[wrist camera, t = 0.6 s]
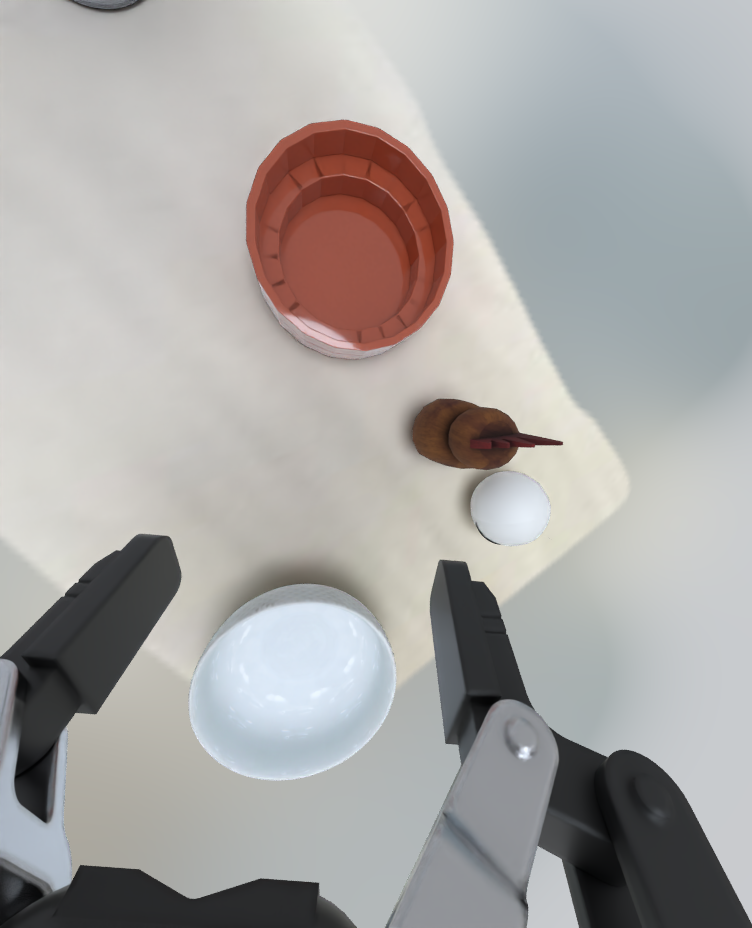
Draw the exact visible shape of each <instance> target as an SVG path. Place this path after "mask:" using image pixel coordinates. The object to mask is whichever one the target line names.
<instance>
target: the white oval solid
mask: <svg viewBox="0 0 752 928" xmlns="http://www.w3.org/2000/svg"><path fill="white" fill-rule="evenodd" d="M550 509H551V506H550V502H549V498H548V496H547V494H546V493H545V491H544V490H543V488H542V487H541V485H540V484H539V483H538V482H536V481H535V480H534V479H532V478H531V477H529V476H527V475H525V474H523V473H519V472H515V471H504V472H497V473H495V474H493V475H490V476H488V477H487V478H485V479H484V480H483V481H482V482H481V483H480V484H478V486H477V487H476V489H475V491H474V492H473V495H472V499H471V515H472V518H473V521H474V524H475V525H476V526H477V528H478V530H479V532H480V533H481V535H482V536H483V537H484V538H486V539H487V540H488V541H490V542H492V543H495V544H499V545H506V546H517V545H523V544H527V543H529V542H531V541H533V540H535V539H536V538H537V537H538V536H540V535H541V534H542V533H543V531H544V529H545V528H546V526H547V524H548V521H549V518H550ZM549 539H550V538H549Z"/></svg>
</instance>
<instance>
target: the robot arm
mask: <svg viewBox="0 0 752 928" xmlns="http://www.w3.org/2000/svg"><path fill="white" fill-rule="evenodd" d="M73 1H75V2H78V3H80V4H83V5H86V6H89V7H94V8H100V9H117V8H122V7H126V6H129V5H131V4H133V3H135V2H137V1H138V0H73ZM180 582H181V569H180V566H179V563H178V559H177V556H176V553H175V550H174V546H173V543H172V540H171V538H170V537H168V536H162V535H150V534H138V535H136V536H135V537H134V538H133V539H132V540H131V541H130V542H129V543H128V544H127V545H126V546H125V547H124V548H123V549H122V550H121V551H117V550H116V551H114V552H113V553H111V554H110V555H108V556H106V557H105V558H103V559H102V560H100V561H98V562H97V563H95V564H94V565H93V566H92V567H91V568H90V569H89V570H88V571H87V572H86V573H85V574H84V575H83V576H82V577H81V578H80V579H79V582H78V583H75V584H74V585H73V586H72V587H71V588H70V589H69V590H68V591H67V592H66V593H65V596H64V597H61V598H60V599H59V600H58V601H57V602H56V603H55V604H54V605H53V606H52V607H51V608H50V609H49V610H48V611H47V612H46V613H45V614H44V615H43V616H42V617H41V618H40V619H39V620H38V621H37V622H36V623H35V624H34V625H33V626H32V627H31V628H30V629H29V630H28V631H27V632H26V633H25V634H24V635H23V636H22V637H21V638H20V639H19V640H18V641H17V642H16V643H15V644H14V645H13V646H12V647H11V648H10V649H9V650H8V651H6V652H5V653H4V654H3V655H2V656H1V657H0V928H357V927H356V926H355V925H354V924H353V923H352V921H351V920H350V919H349V918H348V917H347V916H346V914H345V913H344V912H343V911H341V910H340V909H339V908H338V907H337V906H335V905H334V904H333V903H332V902H330V901H328V900H326V899H325V898H323V897H321V896H319V883H312V882H301V881H287V880H274V879H258V880H255V881H251V882H248V883H245V884H242V885H239V886H236V887H233V888H230V889H226V890H223V891H220V892H217V893H214V894H211V895H208V896H204V897H201V898H197V899H189V898H187V897H185V896H183V895H181V894H180V893H178V892H176V891H175V890H173V889H171V888H170V887H168V886H166V885H165V884H163V883H161V882H160V881H158V880H156V879H154V878H152V877H151V876H149V875H148V874H146V873H144V872H143V871H141V870H139V869H125V868H112V867H99V866H84V865H80V867H79V869H78V871H77V872H76V875H75V877H74V878H73V880H72V860H71V852H70V847H69V843H68V840H67V837H66V835H65V831H64V817H63V816H64V800H65V781H66V763H67V745H68V730H67V727H66V726H67V724H68V723H69V721H70V720H71V719H72V717H73V716H74V714H75V713H86V714H97V712H98V711H99V709H100V707H101V706H102V704H103V703H104V701H105V700H106V698H107V697H108V695H109V694H110V692H111V691H112V689H113V688H114V686H115V685H116V683H117V682H118V680H119V679H120V677H121V676H122V674H123V673H124V671H125V670H126V668H127V667H128V665H129V664H130V662H131V661H132V659H133V658H134V656H135V655H136V653H137V651H138V650H139V649H140V647H141V646H142V644H143V643H144V641H145V640H146V638H147V637H148V635H149V633H150V632H151V630H152V629H153V627H154V626H155V624H156V623H157V621H158V620H159V618H160V617H161V615H162V614H163V612H164V611H165V609H166V608H167V606H168V605H169V603H170V602H171V600H172V599H173V597H174V596H175V594H176V593H177V591H178V588H179V586H180ZM430 616H431V625H432V633H433V642H434V650H435V659H436V667H437V675H438V684H439V692H440V701H441V709H442V717H443V726H444V734H445V743H446V744H457V745H459V752H460V759H461V767H460V769H459V771H458V773H457V775H456V777H455V779H454V782H453V784H452V786H451V788H450V790H449V792H448V794H447V797H446V799H445V801H444V803H443V805H442V807H441V810H440V812H439V814H438V816H437V818H436V820H435V822H434V824H433V827H432V829H431V831H430V833H429V836H428V837H427V839H426V842H425V844H424V846H423V848H422V850H421V852H420V854H419V857H418V859H417V861H416V863H415V865H414V867H413V869H412V871H411V873H410V875H409V877H408V879H407V882H406V884H405V886H404V888H403V890H402V892H401V894H400V896H399V899H398V901H397V903H396V905H395V907H394V909H393V911H392V914H391V916H390V918H389V920H388V922H387V924H386V927H385V928H526V926H527V920H528V904H527V900H526V892H527V886H528V881H529V877H530V873H531V869H532V865H533V861H534V857H535V853H536V850H537V846H539V847H541V848H543V849H545V850H546V851H548V852H550V853H552V854H554V855H556V856H558V857H559V858H561V859H562V862H563V866H564V869H565V874H566V877H567V881H568V885H569V889H570V893H571V897H572V901H573V905H574V909H575V913H576V917H577V921H578V925H579V928H752V924H751V922H750V920H749V918H748V916H747V914H746V912H745V910H744V909H743V906H742V904H741V902H740V901H739V899H738V897H737V895H736V893H735V891H734V889H733V887H732V885H731V884H730V881H729V880H728V878H727V876H726V874H725V872H724V870H723V868H722V866H721V864H720V862H719V860H718V858H717V856H716V854H715V853H714V851H713V849H712V847H711V845H710V843H709V841H708V839H707V837H706V835H705V833H704V832H703V829H702V828H701V826H700V824H699V822H698V820H697V818H696V816H695V814H694V812H693V810H692V808H691V806H690V805H689V803H688V801H687V799H686V798H685V796H684V794H683V793H682V791H681V790H680V789H679V787H678V786H677V784H676V783H675V782H674V781H673V780H672V778H670V776H669V775H668V774H667V773H666V772H665V771H664V770H663V769H661V768H660V767H659V766H658V765H657V764H656V763H654V762H653V761H651V760H650V759H648V758H647V757H645V756H643V755H641V754H639V753H636V752H634V751H629V750H619V751H616V752H614V753H612V754H611V755H610V756H609V757H606V756H604V755H601V754H599V753H597V752H594V751H592V750H590V749H588V748H586V747H584V746H581V745H579V744H577V743H575V742H572V741H570V740H568V739H566V738H564V737H562V736H561V735H559V734H557V733H556V732H555V731H554V730H552V729H551V728H550V727H549V726H548V725H547V724H546V722H545V721H544V720H543V718H542V717H541V716H540V715H539V714H538V713H537V712H536V711H535V710H534V708H533V707H532V705H531V703H530V701H529V698H528V696H527V694H526V690H525V687H524V684H523V681H522V678H521V675H520V672H519V669H518V666H517V663H516V659H515V656H514V653H513V650H512V647H511V644H510V641H509V638H508V635H506V629H505V625H504V622H503V620H502V619H501V613H500V610H499V607H498V604H497V601H496V598H495V596H494V595H493V594H492V593H491V591H490V590H489V589H488V587H487V586H486V585H485V583H484V582H478V581H471V577H470V573H469V570H468V566H467V564H466V562H462V561H450V560H440V561H439V563H438V566H437V571H436V575H435V579H434V583H433V587H432V591H431V597H430Z"/></svg>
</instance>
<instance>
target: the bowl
mask: <svg viewBox="0 0 752 928" xmlns="http://www.w3.org/2000/svg"><path fill="white" fill-rule="evenodd" d="M246 242H247V246H248V250H249V253H250V256H251V260H252V263H253V266H254V270H255V273H256V277H257V280H258V282H259V285H260V288H261V291H262V294H263V296H264V299H265V301H266V303H267V304H268V306H269V307H270V309H271V310H272V312H273V313H274V315H275V317H276V318H277V320H278V321H279V323H280V324H281V326H282V327H283V328H284V329H286V330H287V331H288V332H289V333H290V334H291V335H293V336H294V337H295V338H296V339H297V340H298V341H300V342H301V343H302V344H303V345H305V346H306V347H309V348H311V349H313V350H316V351H318V352H320V353H322V354H325V355H327V356H329V357H335V358H346V359H356V360H357V359H362V358H366V357H370V356H375V355H379V354H382V353H384V352H386V351H387V350H389V349H390V348H392V347H393V346H395V345H397V344H398V343H400V342H401V341H403V340H404V339H406V338H407V337H409V336H410V335H412V334H413V333H414V332H416V331H417V330H419V329H420V328H421V327H422V326H423V325H424V323H425V322H426V321H427V320H428V318H429V317H430V316H431V315H432V313H433V312H434V311H435V310H436V308H437V307H438V306H439V304H440V302H441V299H442V296H443V294H444V291H445V289H446V286H447V284H448V281H449V278H450V275H451V266H452V255H453V244H454V242H453V235H452V230H451V224H450V219H449V213H448V208H447V205H446V203H445V201H444V199H443V197H442V195H441V192H440V190H439V188H438V186H437V184H436V182H435V180H434V177H433V176H432V174H431V173H430V172H429V171H428V169H427V168H426V167H425V166H424V165H423V163H422V162H421V161H420V160H419V159H418V158H417V156H416V155H415V154H414V153H413V152H412V151H411V149H410V148H408V147H407V146H406V145H404V144H403V143H401V142H400V141H398V140H397V139H395V138H393V137H392V136H390V135H389V134H387V133H386V132H384V131H383V130H381V129H378V128H377V127H373V126H369V125H365V124H361V123H357V122H353V121H349V120H336V121H327V122H319V123H312V124H309V125H307V126H305V127H303V128H301V129H300V130H298V131H296V132H294V133H292V134H291V135H289V136H287V137H285V138H283V139H282V140H281V141H280V142H279V143H278V144H277V145H276V146H275V148H274V149H273V150H272V151H271V153H270V154H269V155H268V156H267V158H266V159H265V160H264V161H263V163H262V164H261V165H260V166H259V168H258V170H257V173H256V176H255V179H254V182H253V185H252V188H251V191H250V194H249V197H248V200H247V204H246Z"/></svg>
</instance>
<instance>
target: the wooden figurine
mask: <svg viewBox="0 0 752 928" xmlns="http://www.w3.org/2000/svg"><path fill="white" fill-rule="evenodd" d="M413 442H414V444H415V446H416V449H417V451H418V452H419V454H421V455H423V456H425V457H426V458H428V459H430V460H432V461H435V462H438V463H441V464H443V465H447V466H451V467H456V468H461V469H465V468H475V469H482V470H489V469H494V468H499V467H501V466H503V465H505V464H506V463H508V462H509V461H510V460H511V459H512V458H513V456H514V455H515V454H516V452H517V450H518V447H535V445H563V442H561V441H556V440H552V439H547V438H542V437H537V436H532V435H527V434H522V433H519V431H518V429H517V427H516V424H515V422H514V421H513V420H512V419H511V418H510V417H509V416H508V415H507V414H505V413H503V412H502V411H500V410H498V409H494V408H485V407H479V406H477V405H475V404H472V403H470V402H465V401H461V400H456V399H437V400H435V401H434V402H432V403H430V404H429V405H427V406H425V407H423V409H422V410H421V412H420V413H419V414H418V416H417V417H416V419H415V422H414V426H413Z"/></svg>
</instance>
